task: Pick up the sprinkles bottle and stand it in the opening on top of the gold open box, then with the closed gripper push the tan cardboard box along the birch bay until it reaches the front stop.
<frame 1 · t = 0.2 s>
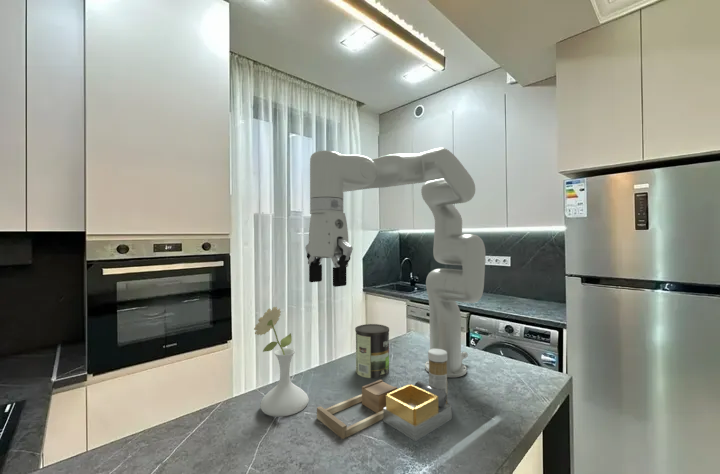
hand: (327, 283, 70), 31 cm above the countertop, tool pointing down, fingers open, 9 cm apart
coffee can: (372, 375, 95), on the countertop
bay: (363, 417, 72), on the countertop
flower in vase: (281, 411, 75), on the countertop
tan cardboard box: (379, 395, 75), point 3 cm above the countertop, slide at 0.0 cm
sprinkles bottle: (438, 407, 76), on the countertop
gold open box: (417, 425, 68), on the countertop
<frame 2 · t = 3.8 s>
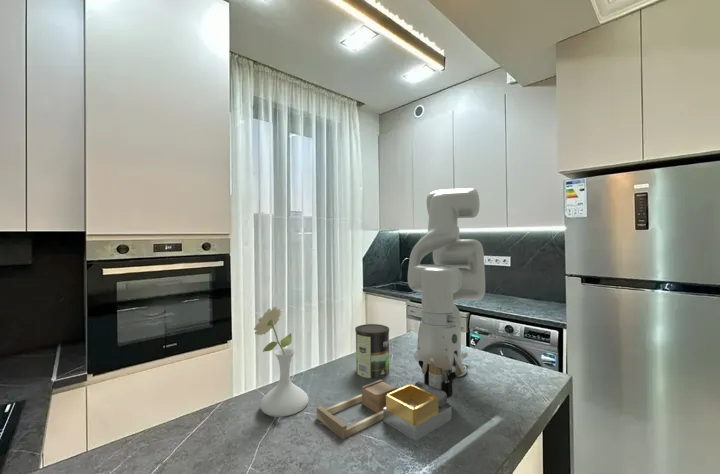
hand: (438, 392, 76), 3 cm above the countertop, tool pointing down, fingers closed on sprinkles bottle, 4 cm apart
sprinkles bottle: (438, 407, 76), on the countertop, touching gripper
everything else where it was.
when the fingers open (9 cm above the countertop, at t = 8.3 s): sprinkles bottle drops 1 cm, resting on gold open box.
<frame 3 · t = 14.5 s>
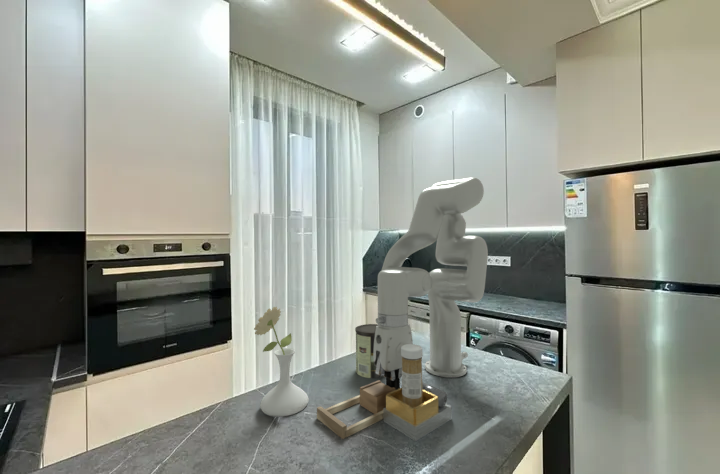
hand: (392, 393, 78), 2 cm above the countertop, tool pointing down, fingers closed
tan cardboard box: (377, 396, 75), point 3 cm above the countertop, slide at 0.7 cm, touching gripper
sprinkles bottle: (412, 410, 68), point 4 cm above the countertop, touching gold open box
everything else where it was.
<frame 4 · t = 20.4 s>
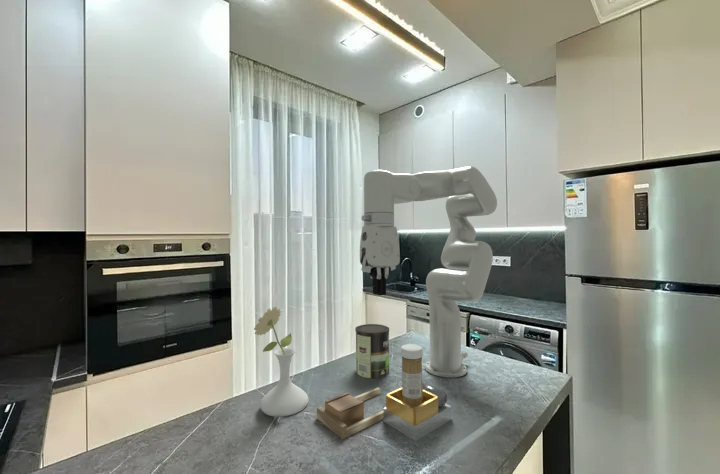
hand: (379, 294, 78), 27 cm above the countertop, tool pointing down, fingers closed
tan cardboard box: (344, 411, 68), point 3 cm above the countertop, slide at 10.5 cm
everything else where it was.
at the end: sprinkles bottle 0.2 cm from the target spot, point 3.8 cm above the countertop; sprinkles bottle tilted 0°; tan cardboard box slide at 10.5 cm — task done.
